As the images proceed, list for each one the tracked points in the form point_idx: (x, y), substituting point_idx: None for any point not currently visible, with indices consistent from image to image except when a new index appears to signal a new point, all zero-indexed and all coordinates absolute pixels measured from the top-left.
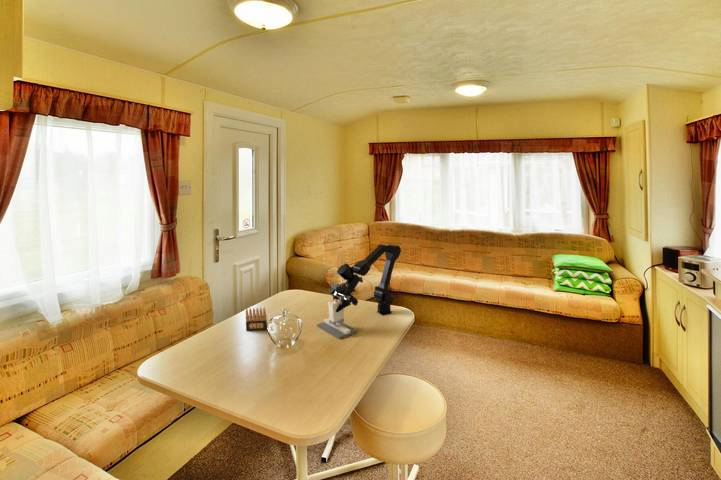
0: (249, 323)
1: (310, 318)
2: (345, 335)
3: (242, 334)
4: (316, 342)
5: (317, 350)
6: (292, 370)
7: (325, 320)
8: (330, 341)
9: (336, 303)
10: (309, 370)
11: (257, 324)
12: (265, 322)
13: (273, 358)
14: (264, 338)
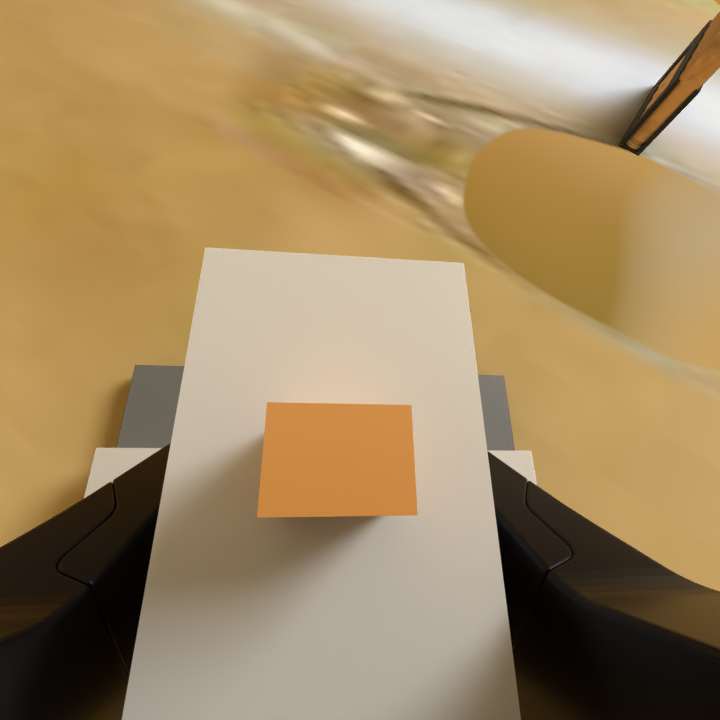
0: (692, 44)
1: (685, 434)
2: (123, 436)
3: (622, 62)
4: (252, 231)
5: (152, 178)
6: (96, 17)
7: (499, 451)
8: (180, 302)
9: (183, 391)
10: (14, 51)
11: (671, 78)
12: (665, 90)
13: (275, 27)
14: (515, 94)
